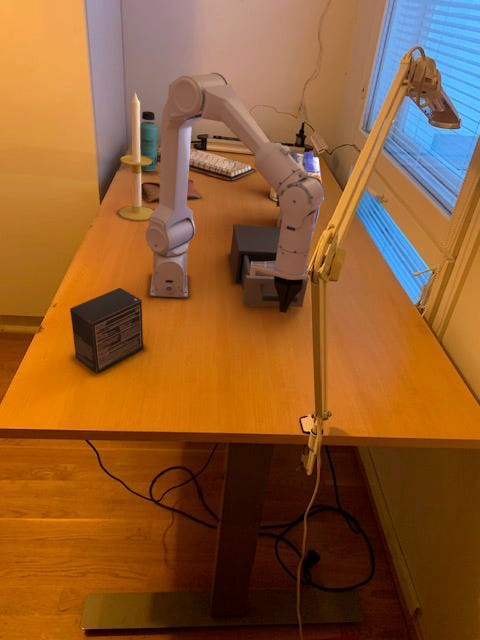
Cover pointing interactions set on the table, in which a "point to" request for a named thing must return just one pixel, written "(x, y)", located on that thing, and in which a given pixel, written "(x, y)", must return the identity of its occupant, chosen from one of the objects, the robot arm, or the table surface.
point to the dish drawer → (263, 284)
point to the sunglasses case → (152, 191)
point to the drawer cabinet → (252, 244)
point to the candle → (136, 168)
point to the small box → (107, 329)
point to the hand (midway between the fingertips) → (282, 310)
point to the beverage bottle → (148, 140)
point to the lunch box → (313, 169)
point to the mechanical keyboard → (215, 165)
